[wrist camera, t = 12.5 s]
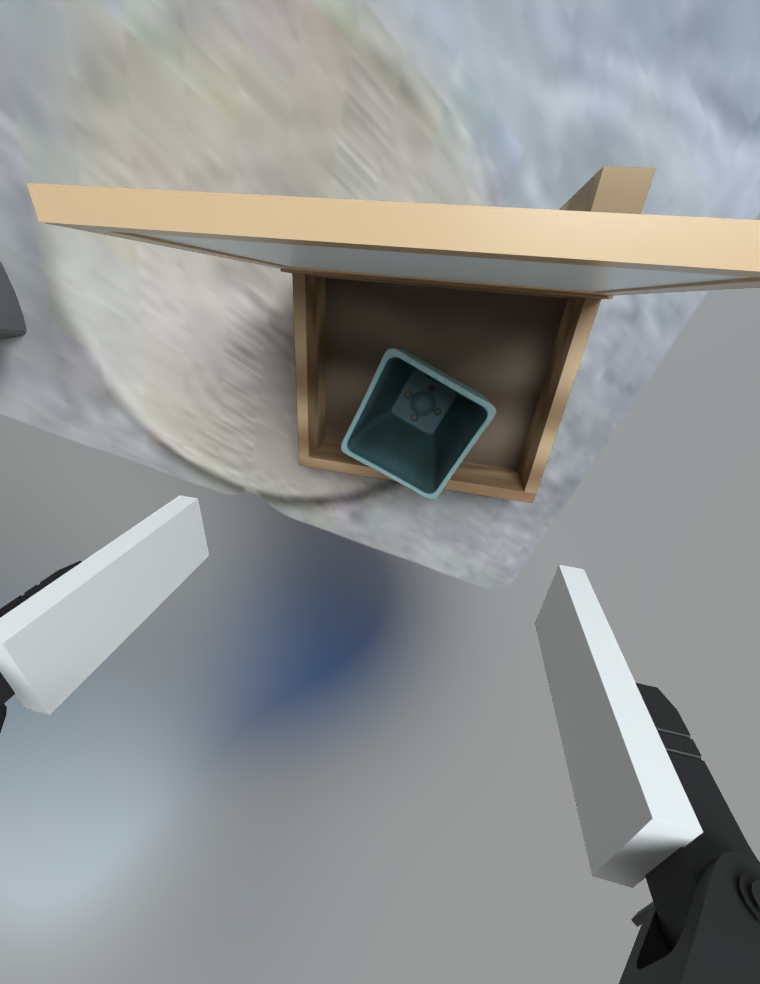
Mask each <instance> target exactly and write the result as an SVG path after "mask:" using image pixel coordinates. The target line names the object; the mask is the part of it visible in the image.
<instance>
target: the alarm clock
mask: <svg viewBox="0 0 760 984" xmlns="http://www.w3.org/2000/svg"><path fill="white" fill-rule="evenodd" d="M25 333H26V326H25V322H24V317H23V314H22V311H21V308H20V305H19V302H18V299H17V297H16V294H15V291H14V289H13V287H12V285H11V282H10V280H9V278H8V276H7V274H6V272H5V269H4V267H3V265H2V264H1V262H0V340H1V339H6V338H11V337H16V336H21V335H25Z"/></svg>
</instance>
